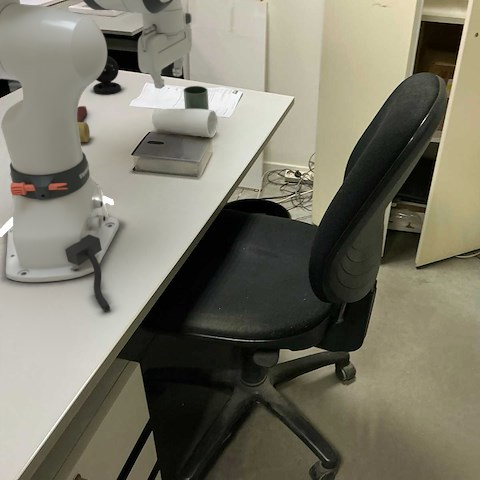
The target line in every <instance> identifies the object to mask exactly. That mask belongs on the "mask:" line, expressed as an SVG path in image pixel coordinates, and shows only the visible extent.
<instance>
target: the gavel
mask: <svg viewBox="0 0 480 480" xmlns="http://www.w3.org/2000/svg"><path fill="white" fill-rule="evenodd" d="M87 114H88V109H87V106H86V105H80V106H79V105H78V109H77V122H78V130H79V136H80V142H81V143H88V142H89V140H90V135H91V134H90V133H91V132H90V126H89V124H88V123H87V121H82V120H83V119H84V118H85V117H86V115H87Z"/></svg>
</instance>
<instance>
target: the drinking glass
mask: <svg viewBox="0 0 480 480" xmlns="http://www.w3.org/2000/svg"><path fill="white" fill-rule="evenodd" d="M151 123H152V126H153V128H154V129H155V130H157V131H164V132H169V133H170V132H171V133H176V134H180V135H186V136H190V137H191V136H192V137H197V136H201V137H200V138H214V136H216V134H217V130H218V116H217V113H216V111H215V110H213V109H209V110H207V109H185V108H162V107H161V108H155V109H154V110H153V112H152V116H151Z"/></svg>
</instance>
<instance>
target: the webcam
mask: <svg viewBox="0 0 480 480" xmlns="http://www.w3.org/2000/svg"><path fill="white" fill-rule="evenodd" d="M118 75H119V65H118V62H117V61H116V59H114V58H113V57H112V56H109V55H107V60H106V65H105V67H104V69H103V71H102V73H101V74H100V76H99V77H98V78H97V79H96V80H95V81H97V82H99V83H96V84H94V85H93V87H92V89H93V91H94V92H95V94H100V95H114V94H116V93H118V92H120V91H121V90H122V86H121V84H120V83H118V82H115V81H114V80H115V79H117V77H118Z"/></svg>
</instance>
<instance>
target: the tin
mask: <svg viewBox="0 0 480 480" xmlns="http://www.w3.org/2000/svg"><path fill="white" fill-rule="evenodd" d="M183 98H184V99H183V100H184V109H207V110H210V109H209V107H210V106H209V91H208V88H207V87H205V86H200V85H192V86H186V87H185V88H183Z"/></svg>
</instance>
